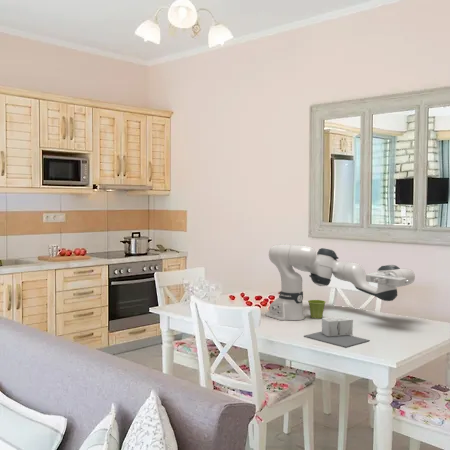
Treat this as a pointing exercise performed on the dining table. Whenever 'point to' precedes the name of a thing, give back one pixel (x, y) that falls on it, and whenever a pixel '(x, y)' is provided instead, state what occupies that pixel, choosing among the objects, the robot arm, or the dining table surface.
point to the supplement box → (337, 326)
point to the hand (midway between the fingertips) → (376, 281)
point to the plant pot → (316, 308)
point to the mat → (337, 339)
